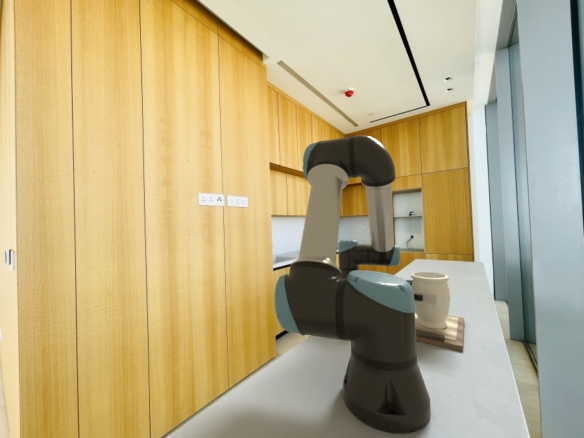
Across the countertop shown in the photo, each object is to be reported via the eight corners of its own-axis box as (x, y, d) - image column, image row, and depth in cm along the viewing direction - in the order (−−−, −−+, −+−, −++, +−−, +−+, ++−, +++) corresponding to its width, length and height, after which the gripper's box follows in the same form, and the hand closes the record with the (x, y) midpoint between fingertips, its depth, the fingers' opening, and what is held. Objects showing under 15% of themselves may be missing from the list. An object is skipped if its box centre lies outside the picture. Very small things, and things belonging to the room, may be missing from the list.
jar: (449, 334, 68) (447, 280, 69) (409, 326, 75) (407, 276, 75) (453, 321, 77) (450, 273, 77) (416, 315, 83) (414, 270, 83)
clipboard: (462, 351, 62) (462, 342, 62) (395, 336, 71) (395, 328, 72) (464, 321, 80) (463, 314, 80) (410, 312, 89) (410, 306, 89)
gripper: (387, 287, 97) (449, 296, 83) (357, 303, 79) (432, 319, 65) (386, 268, 98) (448, 274, 83) (356, 280, 79) (430, 290, 65)
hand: (441, 294), depth 74 cm, fingers open, 13 cm apart
